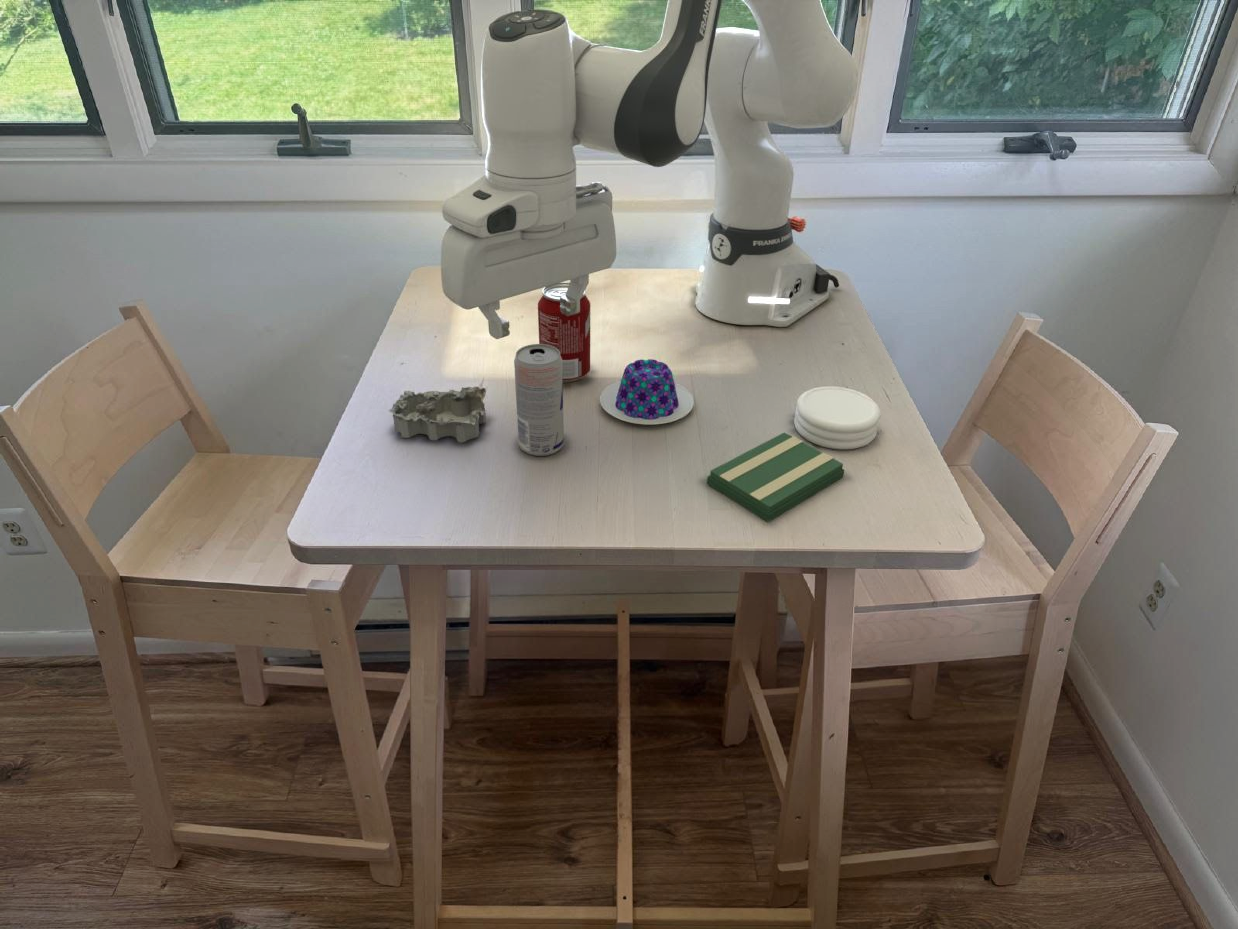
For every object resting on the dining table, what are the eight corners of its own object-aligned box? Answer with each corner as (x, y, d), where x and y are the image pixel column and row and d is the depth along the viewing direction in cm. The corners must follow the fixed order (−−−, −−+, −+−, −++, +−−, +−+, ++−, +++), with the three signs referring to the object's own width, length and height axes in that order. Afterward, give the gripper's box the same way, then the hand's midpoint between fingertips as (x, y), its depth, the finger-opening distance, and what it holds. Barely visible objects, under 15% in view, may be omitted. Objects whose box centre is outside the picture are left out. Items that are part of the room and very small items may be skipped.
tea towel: (782, 443, 104) (784, 430, 103) (843, 477, 99) (846, 463, 98) (706, 483, 97) (707, 469, 96) (767, 522, 92) (770, 507, 90)
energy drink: (561, 431, 105) (559, 341, 99) (566, 455, 101) (565, 363, 94) (517, 434, 105) (512, 344, 98) (520, 459, 100) (515, 366, 94)
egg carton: (492, 415, 108) (490, 386, 106) (473, 447, 102) (471, 418, 100) (410, 406, 110) (406, 377, 107) (387, 437, 103) (383, 407, 101)
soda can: (583, 388, 114) (583, 303, 107) (534, 382, 115) (530, 298, 108) (595, 365, 120) (595, 283, 113) (547, 359, 121) (545, 278, 114)
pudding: (589, 387, 114) (589, 352, 111) (675, 377, 117) (677, 342, 114) (614, 435, 105) (614, 397, 102) (707, 422, 108) (710, 385, 105)
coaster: (804, 452, 103) (809, 427, 101) (785, 409, 111) (788, 385, 109) (887, 450, 103) (893, 425, 101) (861, 407, 112) (866, 383, 110)
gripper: (592, 171, 94) (591, 291, 102) (426, 206, 83) (439, 339, 90) (631, 185, 90) (627, 309, 98) (462, 224, 79) (472, 361, 86)
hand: (535, 324), depth 94 cm, fingers open, 8 cm apart
